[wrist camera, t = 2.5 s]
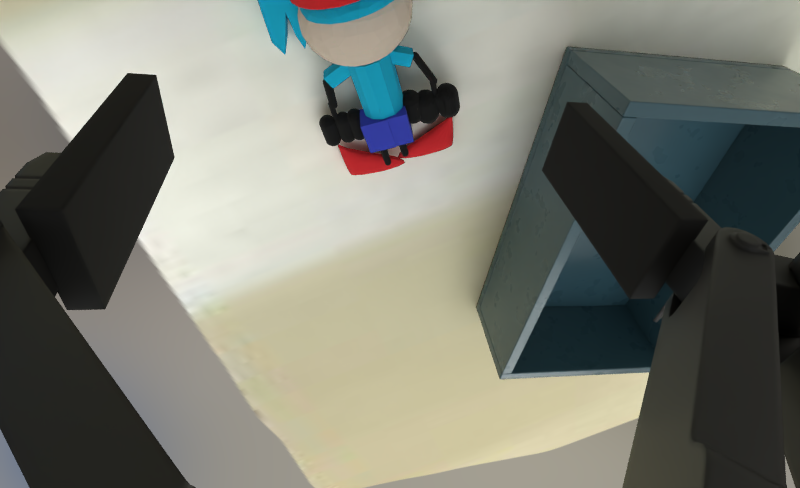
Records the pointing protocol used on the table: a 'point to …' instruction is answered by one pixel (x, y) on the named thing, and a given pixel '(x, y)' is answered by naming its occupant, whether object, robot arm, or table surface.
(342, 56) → the toy figure
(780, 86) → the tote
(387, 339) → the table surface
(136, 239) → the robot arm
